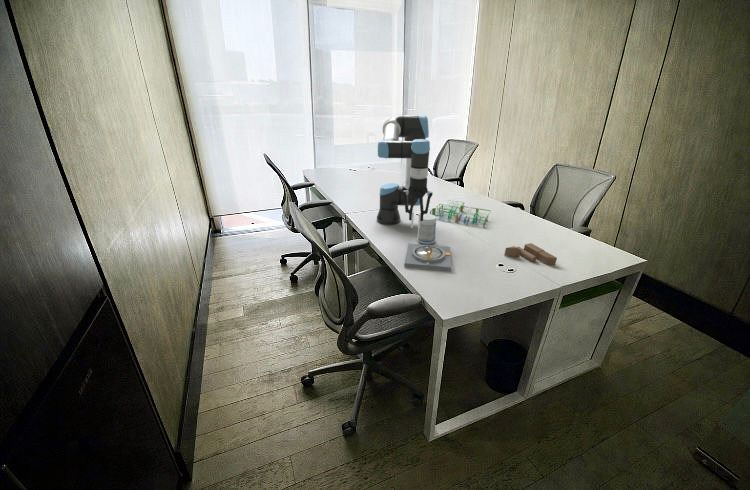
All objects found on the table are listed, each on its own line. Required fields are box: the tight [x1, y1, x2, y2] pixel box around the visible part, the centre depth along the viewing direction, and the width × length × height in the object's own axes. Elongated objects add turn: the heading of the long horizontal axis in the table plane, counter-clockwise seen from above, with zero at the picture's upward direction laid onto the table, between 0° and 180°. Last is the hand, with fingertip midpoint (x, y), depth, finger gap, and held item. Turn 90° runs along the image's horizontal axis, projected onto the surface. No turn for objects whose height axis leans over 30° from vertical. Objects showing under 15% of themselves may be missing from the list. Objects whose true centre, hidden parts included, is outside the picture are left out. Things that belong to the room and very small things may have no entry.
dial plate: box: [403, 243, 452, 272], centre depth 166 cm, size 22×22×3 cm
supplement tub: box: [417, 213, 437, 245], centre depth 182 cm, size 10×10×15 cm
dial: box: [416, 244, 441, 260], centre depth 163 cm, size 15×12×6 cm
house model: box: [429, 199, 492, 228], centre depth 221 cm, size 35×30×5 cm
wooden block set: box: [504, 243, 558, 266], centre depth 165 cm, size 17×6×18 cm
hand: (415, 226), depth 153 cm, fingers open, 3 cm apart
